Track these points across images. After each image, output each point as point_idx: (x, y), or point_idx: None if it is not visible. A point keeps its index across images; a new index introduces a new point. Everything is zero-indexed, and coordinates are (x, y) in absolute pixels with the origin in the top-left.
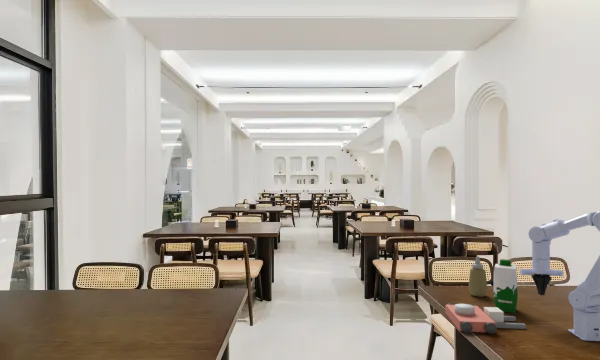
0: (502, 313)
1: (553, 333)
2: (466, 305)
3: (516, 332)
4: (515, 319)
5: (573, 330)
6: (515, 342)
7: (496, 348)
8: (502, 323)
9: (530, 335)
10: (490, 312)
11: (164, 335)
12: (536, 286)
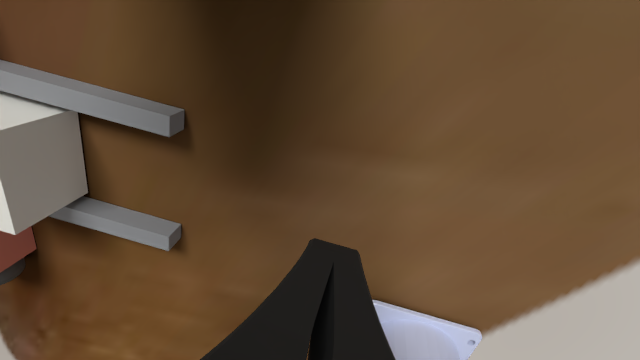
0: (16, 228)
1: None
2: None
3: (122, 261)
4: (175, 132)
5: (383, 319)
6: (86, 327)
7: (18, 343)
8: (59, 216)
9: (166, 296)
10: None
11: None
12: (265, 303)
